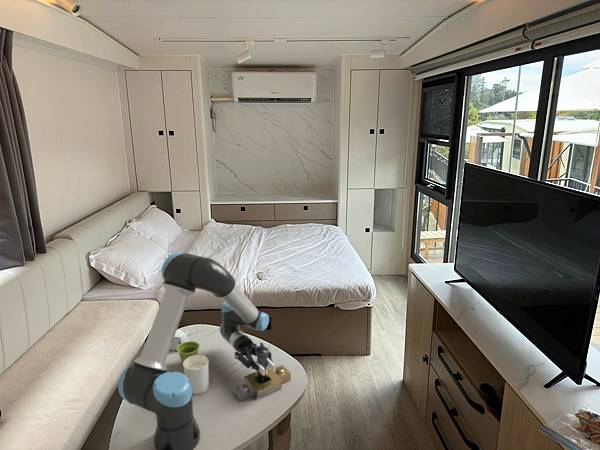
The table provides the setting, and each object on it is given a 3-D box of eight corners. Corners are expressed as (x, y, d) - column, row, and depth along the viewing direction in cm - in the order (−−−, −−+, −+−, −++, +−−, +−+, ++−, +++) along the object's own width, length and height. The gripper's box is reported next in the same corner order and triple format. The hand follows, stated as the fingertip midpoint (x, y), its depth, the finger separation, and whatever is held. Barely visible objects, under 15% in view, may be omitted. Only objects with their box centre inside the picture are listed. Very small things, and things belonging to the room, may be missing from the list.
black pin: (260, 386, 165) (259, 355, 161) (254, 379, 169) (252, 349, 165) (271, 381, 168) (271, 351, 164) (265, 375, 172) (264, 345, 168)
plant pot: (197, 371, 179) (196, 353, 176) (175, 370, 179) (174, 353, 176) (203, 358, 188) (201, 341, 185) (182, 358, 188) (180, 341, 185)
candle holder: (180, 391, 166) (177, 365, 163) (196, 377, 174) (194, 352, 171) (199, 399, 162) (197, 372, 158) (215, 384, 170) (213, 359, 167)
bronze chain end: (257, 399, 162) (257, 389, 161) (244, 383, 170) (243, 375, 169) (293, 382, 171) (293, 374, 170) (279, 369, 180) (279, 360, 179)
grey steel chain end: (243, 405, 159) (243, 398, 158) (230, 389, 167) (230, 383, 166) (281, 388, 168) (281, 382, 167) (267, 374, 177) (267, 368, 176)
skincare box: (170, 349, 194) (168, 335, 192) (176, 342, 200) (175, 329, 198) (182, 351, 193) (180, 337, 191) (188, 344, 198) (187, 330, 196)
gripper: (258, 344, 186) (287, 370, 168) (223, 357, 177) (250, 386, 158) (258, 329, 184) (287, 354, 166) (222, 341, 175) (249, 369, 156)
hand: (269, 370), depth 162 cm, fingers closed on black pin, 4 cm apart
